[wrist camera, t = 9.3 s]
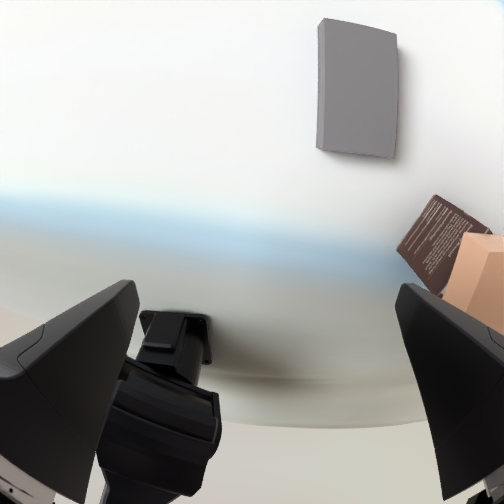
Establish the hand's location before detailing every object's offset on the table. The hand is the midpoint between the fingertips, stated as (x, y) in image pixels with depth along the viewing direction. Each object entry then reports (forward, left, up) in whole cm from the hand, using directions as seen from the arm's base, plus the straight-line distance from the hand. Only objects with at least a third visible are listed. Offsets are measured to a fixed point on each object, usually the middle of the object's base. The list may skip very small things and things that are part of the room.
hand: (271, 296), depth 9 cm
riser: (+8, -6, -12) cm, 16 cm away
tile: (-3, -15, -5) cm, 16 cm away
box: (-3, -15, -12) cm, 20 cm away
